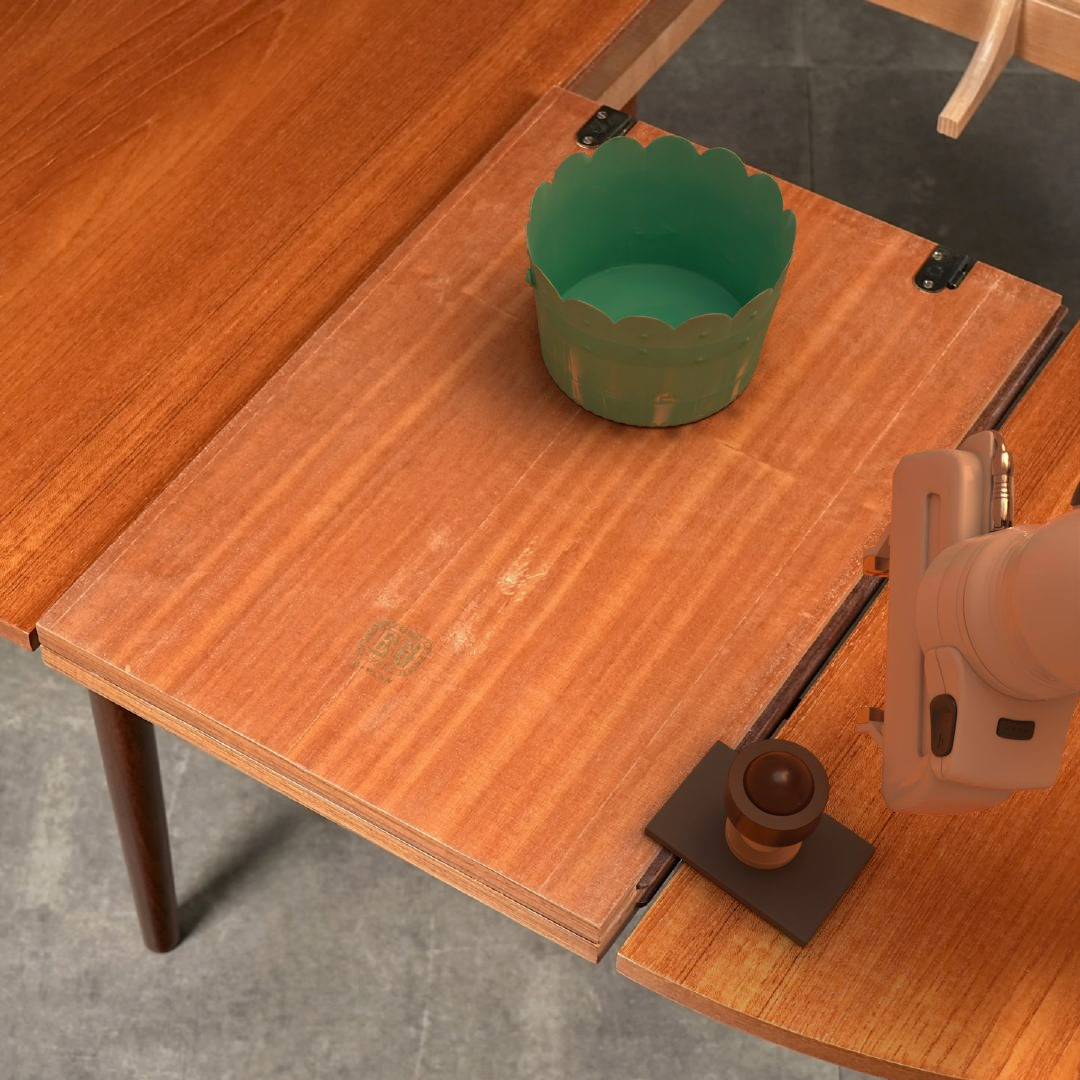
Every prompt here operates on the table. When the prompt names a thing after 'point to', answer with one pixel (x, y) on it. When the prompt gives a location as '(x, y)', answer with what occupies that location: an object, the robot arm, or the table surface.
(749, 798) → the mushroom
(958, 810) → the robot arm
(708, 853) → the front mat
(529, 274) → the basket
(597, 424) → the table surface
